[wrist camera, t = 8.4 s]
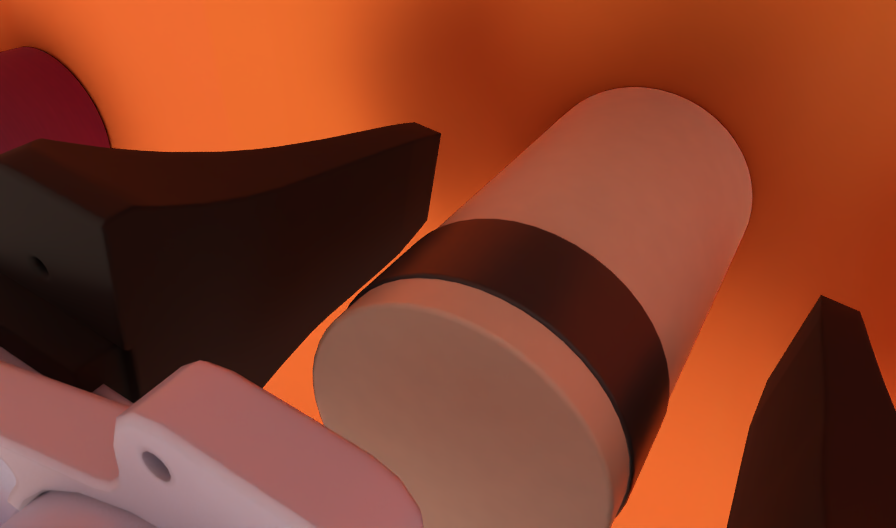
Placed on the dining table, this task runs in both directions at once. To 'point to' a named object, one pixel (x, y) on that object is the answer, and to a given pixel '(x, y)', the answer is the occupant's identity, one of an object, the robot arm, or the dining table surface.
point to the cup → (44, 102)
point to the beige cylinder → (544, 319)
